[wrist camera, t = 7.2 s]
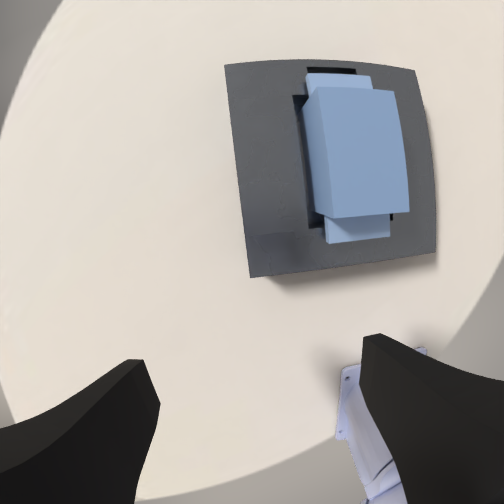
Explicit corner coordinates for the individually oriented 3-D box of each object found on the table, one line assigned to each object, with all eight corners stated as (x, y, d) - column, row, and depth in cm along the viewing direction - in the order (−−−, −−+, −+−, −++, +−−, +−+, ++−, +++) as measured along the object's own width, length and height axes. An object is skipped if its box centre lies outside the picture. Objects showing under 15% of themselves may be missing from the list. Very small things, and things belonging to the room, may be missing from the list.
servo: (370, 227, 17) (410, 242, 12) (311, 234, 17) (335, 252, 12) (353, 93, 15) (386, 64, 10) (294, 92, 15) (310, 59, 10)
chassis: (416, 244, 17) (435, 252, 15) (250, 265, 18) (250, 278, 15) (397, 81, 15) (414, 70, 12) (227, 80, 15) (224, 64, 12)
